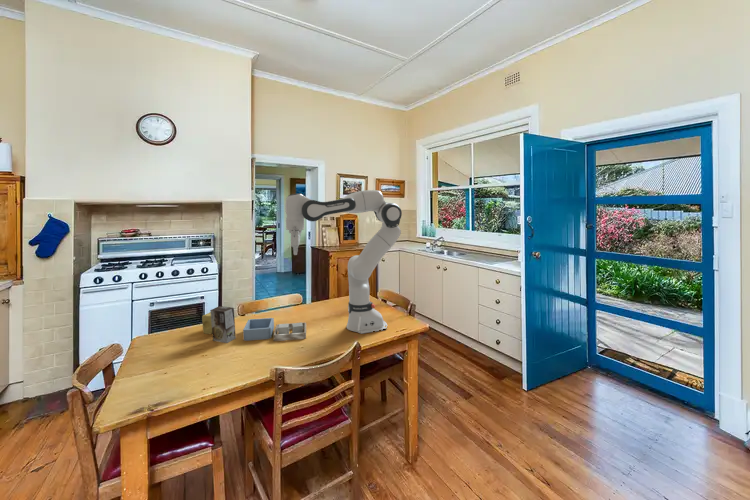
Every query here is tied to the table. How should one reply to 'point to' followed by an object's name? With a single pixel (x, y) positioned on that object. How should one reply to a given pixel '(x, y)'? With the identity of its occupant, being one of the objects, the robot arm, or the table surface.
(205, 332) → the cheese
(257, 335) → the bin
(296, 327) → the stone
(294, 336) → the corral
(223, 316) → the coffee box
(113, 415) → the table surface
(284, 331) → the stone
